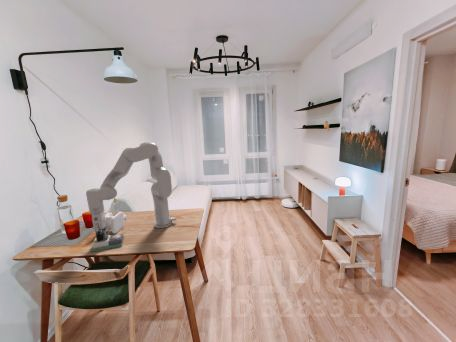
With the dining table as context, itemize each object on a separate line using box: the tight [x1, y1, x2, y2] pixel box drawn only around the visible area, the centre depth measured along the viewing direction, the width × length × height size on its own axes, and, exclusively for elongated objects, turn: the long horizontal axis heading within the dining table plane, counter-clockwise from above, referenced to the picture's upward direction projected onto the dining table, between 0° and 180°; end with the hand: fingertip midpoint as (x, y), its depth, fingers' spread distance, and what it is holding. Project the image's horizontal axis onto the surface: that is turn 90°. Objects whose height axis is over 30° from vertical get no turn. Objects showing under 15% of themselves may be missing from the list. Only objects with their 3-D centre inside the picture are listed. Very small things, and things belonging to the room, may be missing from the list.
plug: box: [95, 229, 108, 242], centre depth 130 cm, size 5×4×8 cm
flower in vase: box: [112, 197, 127, 220], centre depth 165 cm, size 13×11×25 cm
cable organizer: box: [105, 211, 126, 234], centre depth 149 cm, size 15×11×12 cm
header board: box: [90, 233, 125, 253], centre depth 132 cm, size 16×12×4 cm
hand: (101, 236), depth 130 cm, fingers open, 7 cm apart
